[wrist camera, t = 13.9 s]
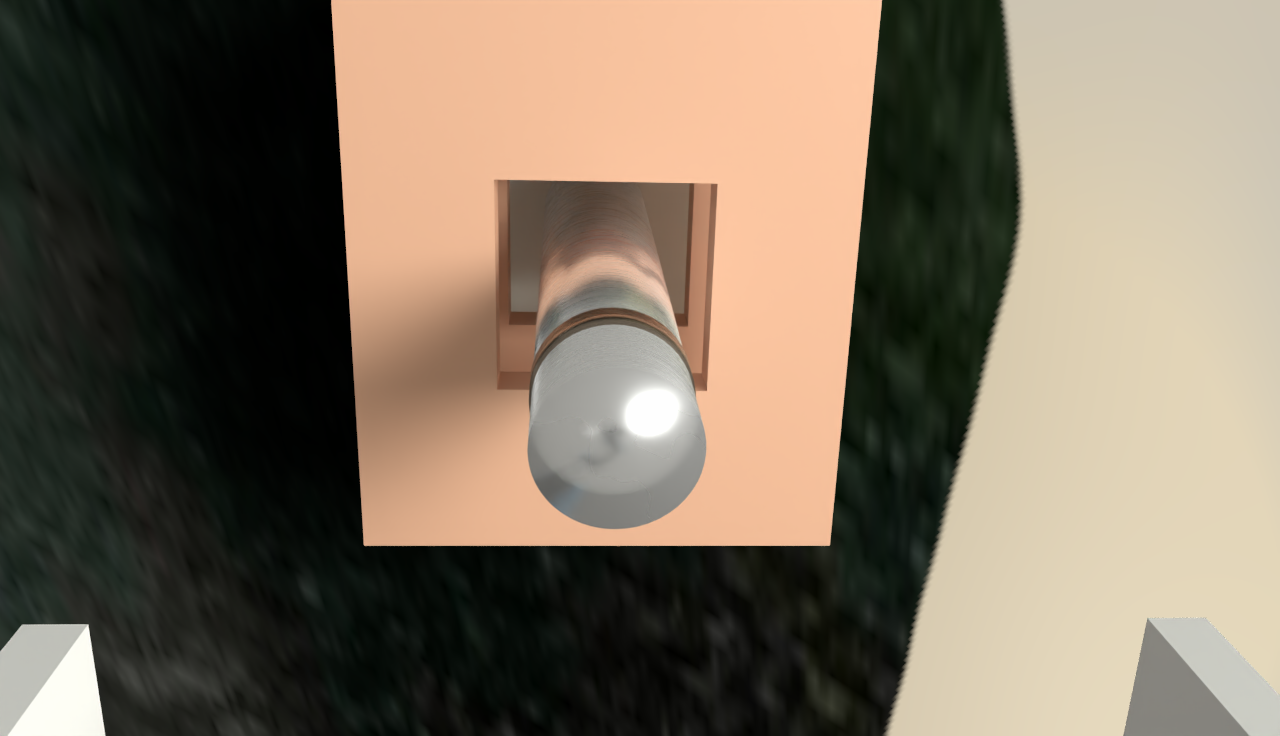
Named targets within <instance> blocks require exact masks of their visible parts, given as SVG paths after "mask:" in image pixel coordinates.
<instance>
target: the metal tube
mask: <svg viewBox="0 0 1280 736" xmlns="http://www.w3.org/2000/svg"><path fill="white" fill-rule="evenodd" d="M529 411H530V420H529V434H528V448H527V452H528V462H529V467H530V471H531V474H532V477H533V479H534V482H535V483H536V485H537V487H538V489H539V491H540V492H541V493H542V495H543V496H544V497H545V499H546V500H547V501H548V502H549V503H550V504H551V505H552V506H553V507H555V508H556V509H557V510H558V511H560V512H561V513H562V514H564V515H566V516H567V517H569V518H571V519H573V520H575V521H577V522H580V523H582V524H585V525H589V526H592V527H597V528H603V529H627V528H633V527H638V526H641V525H645V524H648V523H651V522H653V521H655V520H658V519H660V518H661V517H663V516H665V515H667V514H668V513H670V512H671V511H672V510H674V509H675V508H677V507H678V506H679V505H680V504H681V503H682V502H683V501H684V500H685V499H686V498H687V497H688V495H689V494H690V493H691V492H692V490H693V489H694V487H695V485H696V484H697V482H698V480H699V478H700V475H701V473H702V470H703V467H704V463H705V457H706V436H705V430H704V426H703V422H702V418H701V415H700V411H699V407H698V403H697V400H696V390H695V384H694V380H693V376H692V372H691V368H690V365H689V362H688V358H687V355H686V353H685V351H684V349H683V347H682V343H681V339H680V336H679V332H678V328H677V324H676V321H675V317H674V313H673V309H672V306H671V302H670V298H669V294H668V290H667V287H666V283H665V279H664V275H663V272H662V268H661V264H660V260H659V257H658V253H657V249H656V245H655V242H654V238H653V234H652V230H651V227H650V223H649V219H648V215H647V211H646V208H645V204H644V200H643V197H642V193H641V191H640V188H639V186H638V185H637V183H636V182H598V181H553V183H552V184H551V186H550V188H549V190H548V193H547V196H546V201H545V212H544V225H543V239H542V253H541V267H540V281H539V295H538V309H537V323H536V337H535V350H534V362H533V365H532V369H531V375H530V388H529Z"/></svg>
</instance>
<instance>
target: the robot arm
mask: <svg viewBox="0 0 1280 736" xmlns="http://www.w3.org/2000/svg"><path fill="white" fill-rule="evenodd" d="M0 736H105V731H104V724H103V718H102V711H101V705H100V699H99V692H98V686H97V679H96V673H95V666H94V660H93V653H92V647H91V640H90V634H89V627H88V624H58V625H22V626H21V627H20V628H19V629H18V631H17V632H16V633H15V634H14V636H13V637H12V638H11V639H10V640H9V642H8V643H7V644H6V645H5V647H4V648H3V649H2V650H1V651H0ZM1124 736H1280V695H1279V694H1278V693H1277V692H1276V691H1275V690H1274V689H1273V688H1272V687H1271V686H1270V685H1269V684H1268V683H1267V681H1266V680H1265V679H1264V678H1263V677H1262V676H1261V675H1260V674H1259V673H1258V672H1257V671H1256V670H1255V669H1254V668H1253V667H1252V666H1251V665H1250V664H1249V663H1248V662H1247V661H1246V659H1245V658H1244V657H1243V656H1242V655H1241V654H1240V653H1239V652H1238V651H1237V650H1236V649H1235V648H1234V647H1233V646H1232V645H1231V644H1230V643H1229V642H1228V641H1227V640H1226V639H1225V637H1224V636H1223V635H1222V634H1221V633H1220V632H1219V631H1218V630H1217V629H1216V628H1215V627H1214V626H1213V625H1212V624H1211V623H1210V622H1209V621H1208V620H1207V619H1206V618H1147V623H1146V628H1145V633H1144V638H1143V643H1142V648H1141V653H1140V657H1139V662H1138V667H1137V672H1136V677H1135V682H1134V687H1133V692H1132V697H1131V702H1130V707H1129V711H1128V716H1127V721H1126V726H1125V731H1124Z"/></svg>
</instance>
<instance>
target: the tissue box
mask: <svg viewBox="0 0 1280 736" xmlns="http://www.w3.org/2000/svg"><path fill="white" fill-rule="evenodd" d="M331 5H332V22H333V38H334V55H335V72H336V88H337V105H338V121H339V138H340V155H341V171H342V188H343V205H344V221H345V238H346V254H347V271H348V288H349V304H350V321H351V337H352V354H353V371H354V387H355V404H356V420H357V437H358V454H359V470H360V487H361V504H362V520H363V537H364V546H830V538H831V528H832V517H833V507H834V496H835V486H836V475H837V465H838V455H839V444H840V434H841V423H842V413H843V402H844V392H845V381H846V371H847V360H848V350H849V339H850V329H851V319H852V308H853V298H854V287H855V277H856V266H857V256H858V245H859V235H860V224H861V214H862V203H863V193H864V183H865V172H866V162H867V151H868V141H869V130H870V120H871V109H872V99H873V88H874V78H875V68H876V57H877V47H878V36H879V26H880V15H881V5H882V0H331ZM553 181H598V182H636V183H637V185H638V186H639V188H640V191H641V193H642V197H643V200H644V204H645V208H646V211H647V215H648V219H649V223H650V227H651V230H652V234H653V238H654V242H655V245H656V249H657V253H658V257H659V260H660V264H661V268H662V272H663V275H664V279H665V283H666V287H667V290H668V294H669V298H670V302H671V306H672V309H673V313H674V317H675V321H676V324H677V328H678V332H679V336H680V339H681V343H682V347H683V349H684V351H685V353H686V355H687V358H688V362H689V365H690V368H691V372H692V376H693V380H694V384H695V390H696V400H697V403H698V407H699V411H700V415H701V418H702V422H703V426H704V430H705V436H706V457H705V463H704V467H703V470H702V473H701V475H700V478H699V480H698V482H697V484H696V485H695V487H694V489H693V490H692V492H691V493H690V494H689V495H688V497H687V498H686V499H685V500H684V501H683V502H682V503H681V504H680V505H679V506H678V507H677V508H675V509H674V510H672V511H671V512H670V513H668V514H667V515H665V516H663V517H661V518H660V519H658V520H655V521H653V522H651V523H648V524H645V525H641V526H638V527H633V528H627V529H603V528H597V527H592V526H589V525H585V524H582V523H580V522H577V521H575V520H573V519H571V518H569V517H567V516H566V515H564V514H562V513H561V512H560V511H558V510H557V509H556V508H555V507H553V506H552V505H551V504H550V503H549V502H548V501H547V500H546V499H545V497H544V496H543V495H542V493H541V492H540V491H539V489H538V487H537V485H536V483H535V482H534V479H533V477H532V474H531V471H530V467H529V462H528V452H527V448H528V434H529V420H530V411H529V388H530V375H531V369H532V365H533V362H534V350H535V337H536V323H537V309H538V295H539V281H540V267H541V253H542V239H543V225H544V212H545V201H546V196H547V193H548V190H549V188H550V186H551V184H552V183H553Z"/></svg>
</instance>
